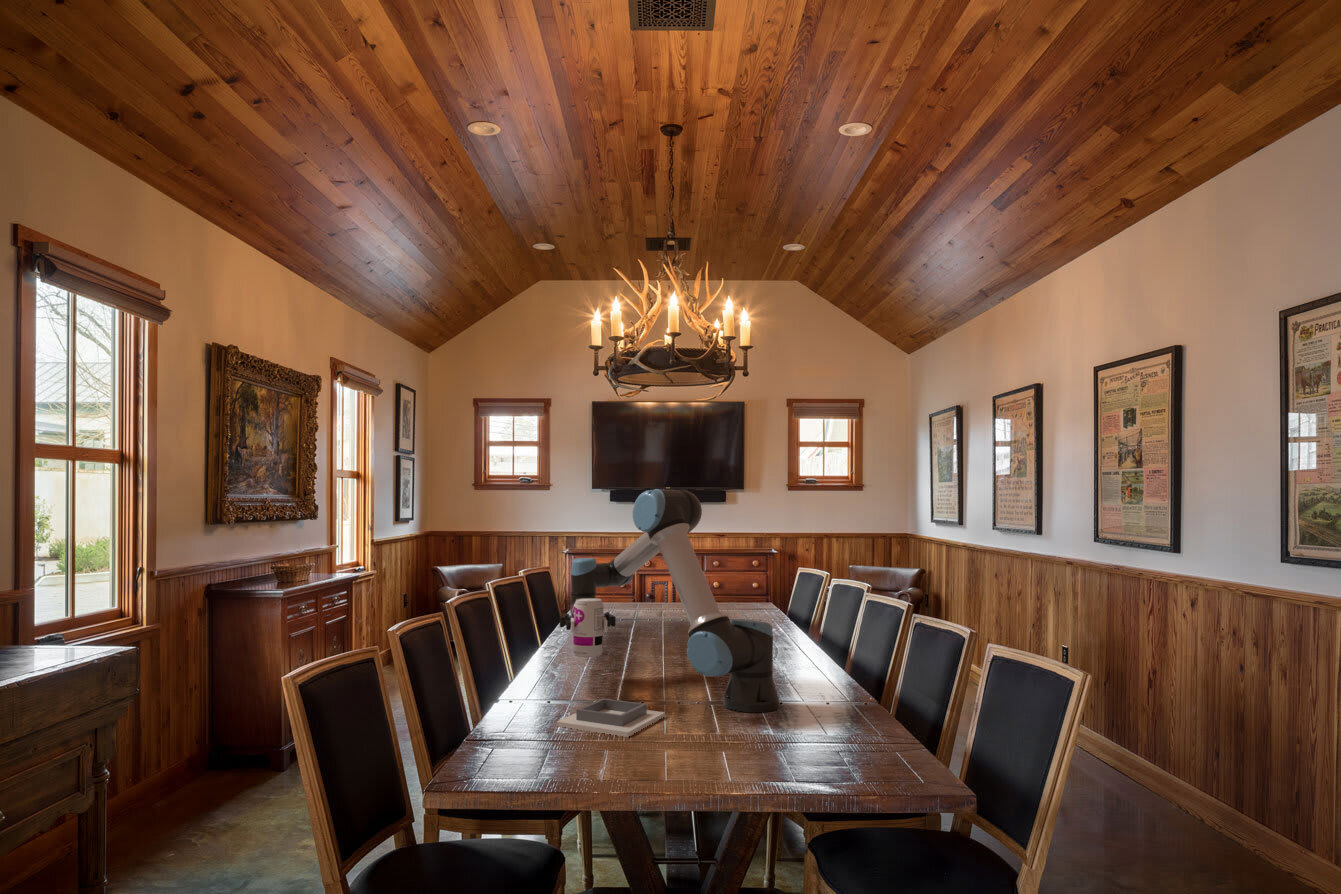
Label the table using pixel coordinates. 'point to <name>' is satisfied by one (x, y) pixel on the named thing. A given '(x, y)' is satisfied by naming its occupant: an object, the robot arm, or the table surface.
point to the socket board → (612, 717)
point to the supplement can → (588, 627)
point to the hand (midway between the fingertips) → (589, 626)
